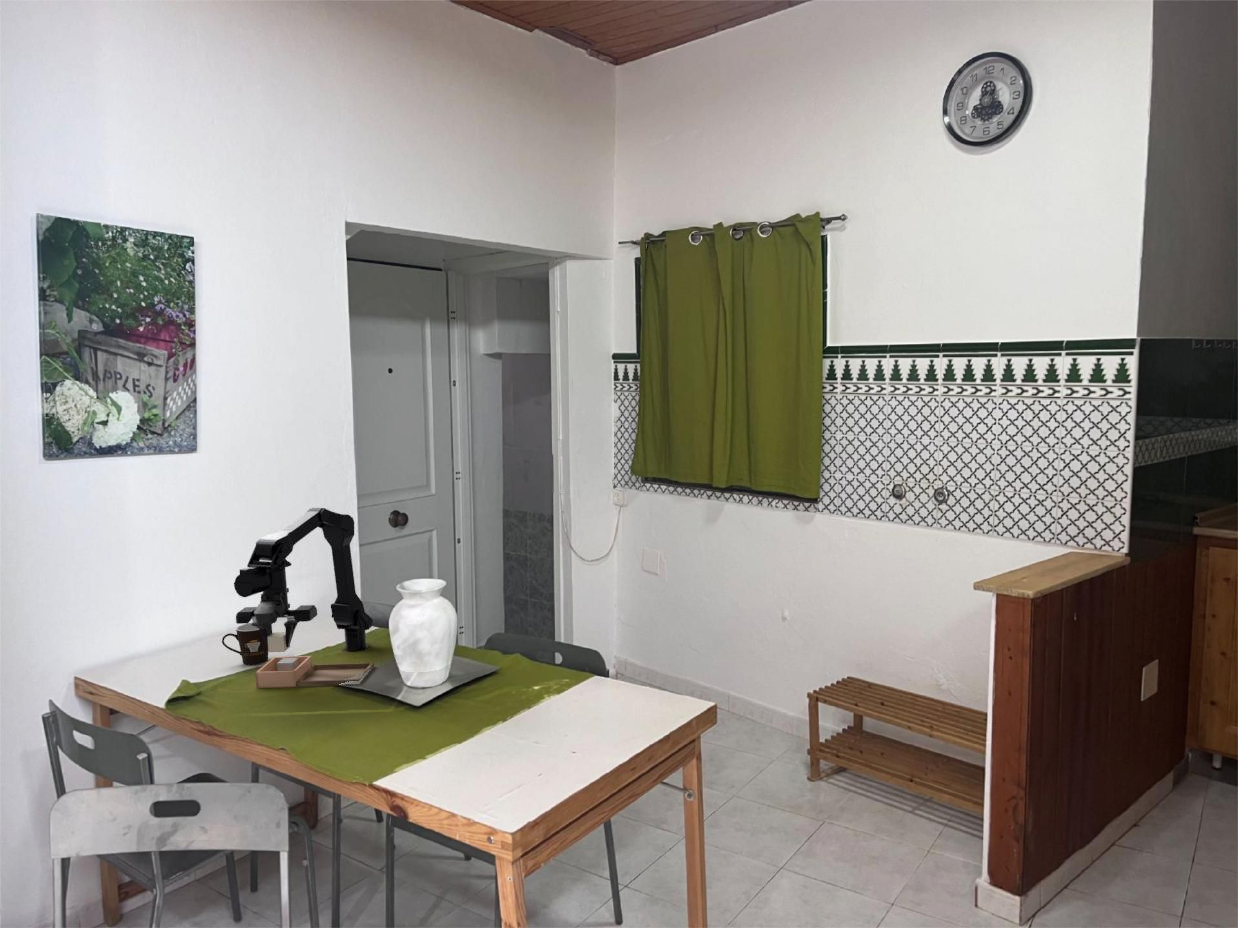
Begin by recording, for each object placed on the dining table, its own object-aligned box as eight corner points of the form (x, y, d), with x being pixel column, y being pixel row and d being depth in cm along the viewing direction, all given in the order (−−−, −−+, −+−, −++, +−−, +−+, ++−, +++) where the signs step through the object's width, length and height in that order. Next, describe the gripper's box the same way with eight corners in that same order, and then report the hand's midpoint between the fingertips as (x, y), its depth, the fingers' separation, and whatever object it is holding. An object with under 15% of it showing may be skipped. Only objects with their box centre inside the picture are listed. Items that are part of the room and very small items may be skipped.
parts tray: (314, 670, 239) (313, 664, 238) (374, 669, 238) (373, 662, 238) (296, 688, 226) (295, 681, 225) (359, 686, 225) (359, 679, 225)
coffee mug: (277, 656, 252) (275, 621, 251) (262, 666, 243) (259, 630, 242) (238, 656, 253) (235, 621, 252) (222, 666, 245) (219, 631, 243)
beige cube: (274, 647, 230) (273, 632, 230) (290, 646, 230) (289, 631, 230) (268, 652, 226) (267, 636, 226) (284, 651, 226) (283, 636, 226)
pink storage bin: (275, 673, 238) (273, 656, 237) (312, 672, 238) (311, 655, 237) (256, 689, 226) (255, 672, 225) (296, 688, 226) (294, 671, 225)
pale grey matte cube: (284, 672, 236) (283, 658, 236) (299, 672, 236) (298, 657, 235) (278, 678, 232) (277, 663, 232) (293, 677, 232) (292, 662, 232)
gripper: (223, 596, 218) (229, 658, 220) (300, 594, 218) (304, 656, 220) (242, 585, 229) (247, 644, 231) (315, 582, 229) (320, 642, 231)
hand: (279, 647), depth 228 cm, fingers closed on beige cube, 4 cm apart
